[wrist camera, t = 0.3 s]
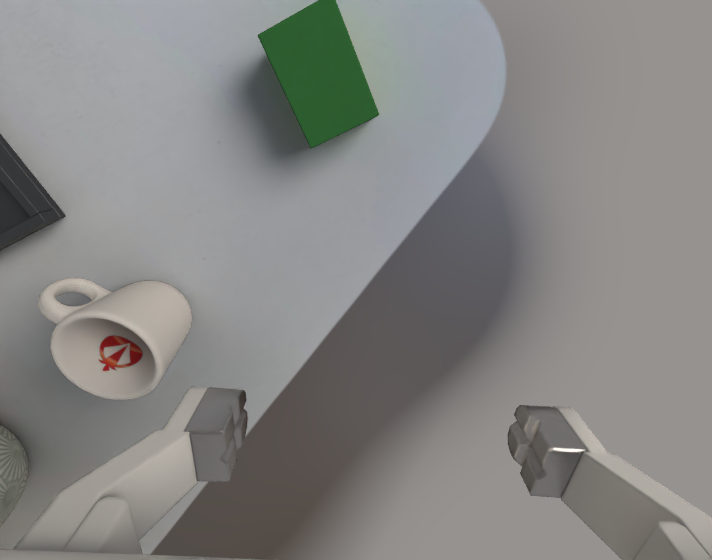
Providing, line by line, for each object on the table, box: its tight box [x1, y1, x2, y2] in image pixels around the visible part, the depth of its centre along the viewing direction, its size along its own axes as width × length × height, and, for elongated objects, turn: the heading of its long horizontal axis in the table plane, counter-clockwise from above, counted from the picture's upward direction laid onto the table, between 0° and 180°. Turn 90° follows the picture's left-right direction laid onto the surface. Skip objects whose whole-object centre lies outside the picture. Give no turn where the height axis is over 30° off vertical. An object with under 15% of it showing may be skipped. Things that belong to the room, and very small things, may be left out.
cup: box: [38, 278, 192, 400], centre depth 29 cm, size 11×8×8 cm
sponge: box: [258, 0, 379, 148], centre depth 24 cm, size 7×5×4 cm
